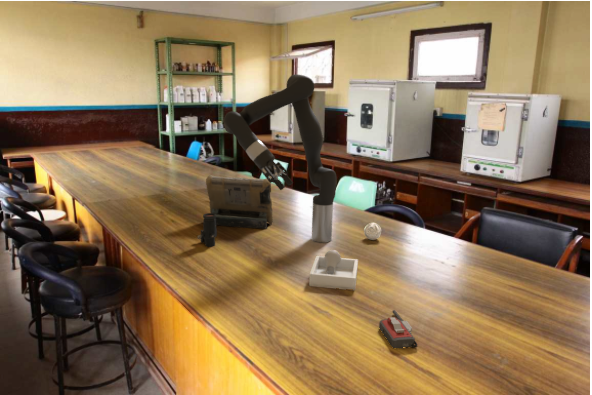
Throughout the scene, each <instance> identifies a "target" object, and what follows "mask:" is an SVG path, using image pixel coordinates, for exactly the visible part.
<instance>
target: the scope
mask: <svg viewBox="0 0 592 395" xmlns="http://www.w3.org/2000/svg"><path fill="white" fill-rule="evenodd" d="M202 218H203V221H202V222H203V223H202V224H203V226H202V227H203V228H202V229H201V230H200V234H199V235H197V239H199V240H200V243H201V244H204V245H205V247H207V248H213V247H215V246H216V240H215V239H216V237H217V236H218V231H217V225H216V219H215V218H216V214H214V213H210V212H209V213H207V212H206V213H204V214H203V215H202Z"/></svg>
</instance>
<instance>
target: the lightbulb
mask: <svg viewBox="0 0 592 395" xmlns="http://www.w3.org/2000/svg"><path fill="white" fill-rule="evenodd" d="M341 258H342V257H341V254H340V253H339V252H338V250H335V249H330V250H327V251H326V252H325V254H324V259H325V262H326V264H327V274H330V275H332V274H333V273H334V270H335V267H336V266H337V265H338V263H339V262H340V260H341Z"/></svg>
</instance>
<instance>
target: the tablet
mask: <svg viewBox="0 0 592 395" xmlns="http://www.w3.org/2000/svg"><path fill="white" fill-rule="evenodd" d="M205 185H206V190H207V196H208V201H209V213H214V214H216V218H215V219H216V226H222V227H232V228H233V227H234V228H246V229H268V224H269V225H270V226H272V225H273V223H274V222H273V221H274V219H273V218H274V217H273V216H274V213H273V211H274V210H273V204H272V203H273V202H272V198H271V193H272V182H271V183H270V182H269V181H268V180H267V178H264V179H261V178H247V177H229V176H218V175H217V176H215V175H212V174H208V176H207V177H206V179H205ZM267 223H268V224H267Z"/></svg>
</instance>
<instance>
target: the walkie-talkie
mask: <svg viewBox="0 0 592 395" xmlns="http://www.w3.org/2000/svg"><path fill="white" fill-rule="evenodd" d="M391 313H392V314H393V315H394V316H395V317H388V318H387V319H381V320H379V324H378V329H379V328H380V329H379V331H380V330H381V331H382V332H381V331H380V332H381V334H382V333H383V334H384V335H383V334H382V335H383V336H384V338H385V337H386V338H387V339H386V338H385V339H386V341H387V340H388V341H387V343H388V342H389V343H390V344H389V343H388V344H389V345H391V346H392V347H393V348H392V347H391V346H390V347H391V348H392V349H394V348H401V349H404V348H403V347H413V348H414V349H415V348H418V343H417V341H416V338H415V337H414V335H413V333H411V332H413V328H412V326H411V325H410V323H409V321H408V320H404V319H403V318H402V317H401V316H400V315H399V314H398V312H397V311H396V310H395V309H393V310H392V311H391Z"/></svg>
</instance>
